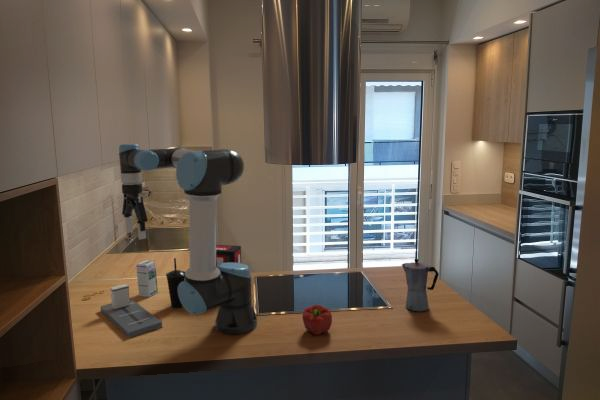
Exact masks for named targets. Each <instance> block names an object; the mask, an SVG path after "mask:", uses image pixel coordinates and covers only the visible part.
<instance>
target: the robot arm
mask: <svg viewBox="0 0 600 400" xmlns="http://www.w3.org/2000/svg"><path fill="white" fill-rule="evenodd" d="M118 155H119V156H118V157H119V166H120V167H119V168H120V181H121V183H122V185H121V193H122V194H123V202H122V203H123V204H122V213H121V214H122V216H123V217H124V225H125V234H131V233H134V227H133V213H132V212H133V210H134V213H135V216H136V218H137V222H136V224H137V232H138V233H137V234H138V235H137V237H138V240H144V239H147V228H146V222H148V221H149V220H148V217H147V212H146V208H145V205H144V204H145V203H144V199H143V198H144V197H143V196H139V195H140V194H142V193H143V184H142V182H143V181H142V180H143V179H142V177H143V174H142V171H143V172H149V171H153V170H158V169H159V170H160V169H168V168H169V169H171V168H172V169H173V168H174V169H176V170H175V177H176V181H177V184H178V186H179V187H180V189H182V190H184V191H183V192H184V195H185V196H187V198H188V199H189V200H188V201H189V203H188V204H189V207H188V208H189V209H188V210H189V211H188V212H189V214H188V216H189V218H188V222H189V227H188V229H189V230H188V231H189V268H188V269H186V270H185V271H184V272H185V281H182V282H181V283H180V284H179V285H178V296H179V299H180V302H181V304H182V305H183V308H184V310H186V312H188V313H189V314H191V315H198V314H202V313H203V314H205V313H206V312H208V311H210V310H213V309H215V308H217V307H218V311H217V313H216V318H215V321H214V322H215V324H214V325H215V329H216V331H218V332H219V333H221V334H225V335H235V336H236V335H242V334H246V333H249V332H251V331H253V330H255V329H256V328H257V326H258V317H257V314H256V311H255V310H254V307H253V301H252V298H253V297H252V296H253V295H252V275H251V274H252V273H251V272H252V271H251V268H250V266H249V265H247V264H245V263H242V262H241V263H233V262H229V263H221V264H219V265H218V268H217V267H216V245H217V211H218V210H217V199H218V197H220V196H221V195H222V189H223V188H222V186H226V185H230V184H233V183H235V182H237V181H238V180H239V179H240V178H241V177H242V175H243V173H244V170H245V163H244V159H243V158H242V156H241V155H240V154H239V153H238V152H237V151H235V150H232V149H227V148H225V149H224V148H222V149H209V150H207V149H204V150H191V149H186V148H183V147H173V148H172V147H171V148H157V149H153V148H152V149H140V145H139V144H138V143H122V144H119V146H118Z"/></svg>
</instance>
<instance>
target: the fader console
mask: <svg viewBox="0 0 600 400" xmlns="http://www.w3.org/2000/svg"><path fill="white" fill-rule="evenodd" d="M100 311H101V313H102V314H103V315H104V316H105V317H106V318H108V320H109V321H111V322H112V323H113V324H114V325H115V326H116V327H117V328H118V330H120V331H121V332H122V334H124V335H125V336H126V337H127V338H128V339H130V338H133V337H136V336H139V335H142V334H146V333H149V332H152V331H155V330H157V329H160V328H162V327H163V325H162V321H161V320H160V319H158V318H157V317H156V316H154V315H153V314H152V313H151V312H149V311H148V310H147V309H146V308H144V307H143V306H141V305H140V304H139V303H138V302H136V301H135V300H134V299H133V298H132V297H131V298H130V305H128V306H125V307H121V308H117V309H114V308H113V307H112V302H110V303H107V304H104V305H101V306H100Z"/></svg>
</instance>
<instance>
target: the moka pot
mask: <svg viewBox="0 0 600 400" xmlns="http://www.w3.org/2000/svg"><path fill="white" fill-rule="evenodd" d="M401 267H402V268H403V271H404V273H405V280H406V285H407V293H406V301H405V308H406V309H407V310H410V311H411V312H412V311H414V312H424V311H427V310H429V307H430V305H429V300H428V293H427V292H428V291H433V290H435V286H436V283H437V280H438V278H439V272H438V270H437V269H436V268H435V266H429V264H426V263H423V262H419V259H418V258H415V259H414V262H404V263H402V264H401ZM431 272H434V277H433V280H432V283H431V286H430V287H428V286H427V281H428V274H429V273H431ZM427 290H428V291H427Z"/></svg>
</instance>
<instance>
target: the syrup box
mask: <svg viewBox="0 0 600 400" xmlns="http://www.w3.org/2000/svg"><path fill="white" fill-rule="evenodd" d="M135 265H136V266H135V268H136V278H137V288H138V289H137V290H138V296H139V297H145V298H151V297H153V296H154V295H156V294H158V293H159V290H158V277H157V266H156V261H154V260H147V259H146V260H143V261H142V262H139V263H137V264H135Z"/></svg>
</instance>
